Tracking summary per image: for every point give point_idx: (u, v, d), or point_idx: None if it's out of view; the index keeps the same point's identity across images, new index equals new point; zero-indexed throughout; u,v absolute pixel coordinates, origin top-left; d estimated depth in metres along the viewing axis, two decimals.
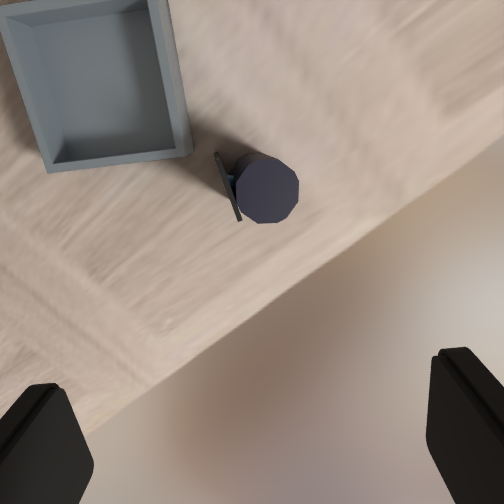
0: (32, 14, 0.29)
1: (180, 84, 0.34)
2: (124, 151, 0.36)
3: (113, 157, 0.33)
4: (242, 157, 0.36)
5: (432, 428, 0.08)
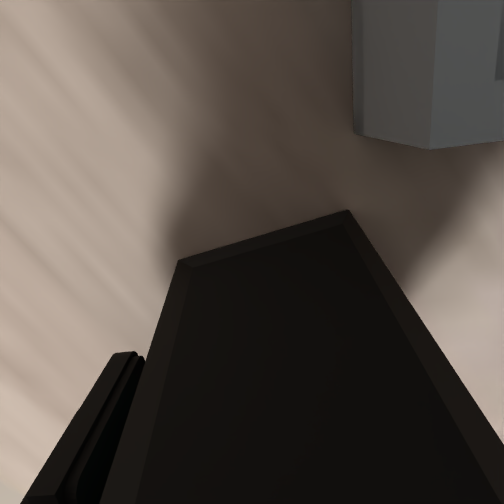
0: None
1: None
2: None
3: None
4: None
5: None
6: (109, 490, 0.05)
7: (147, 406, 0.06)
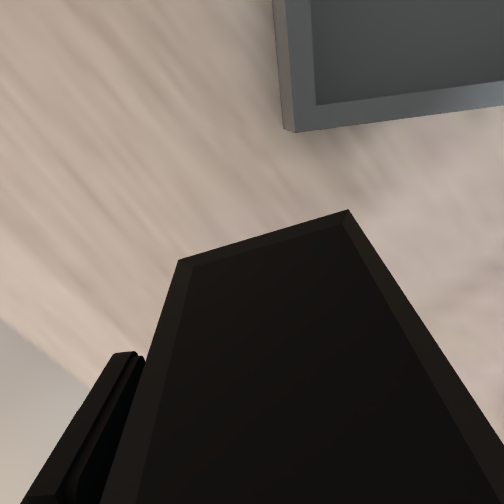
0: None
1: None
2: None
3: None
4: None
5: None
6: (110, 488, 0.05)
7: (147, 405, 0.06)
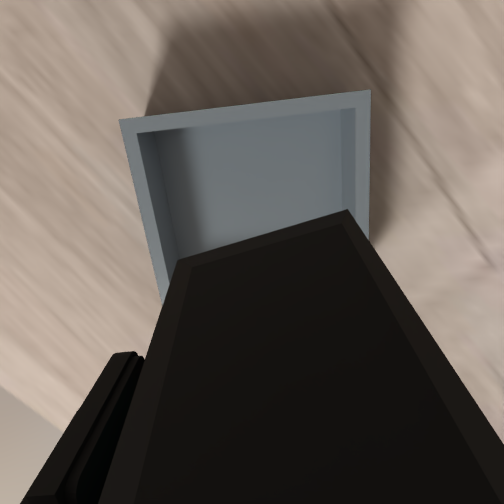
0: (353, 147, 0.20)
1: None
2: (173, 216, 0.25)
3: (157, 234, 0.21)
4: None
5: None
6: (108, 489, 0.05)
7: (146, 405, 0.06)
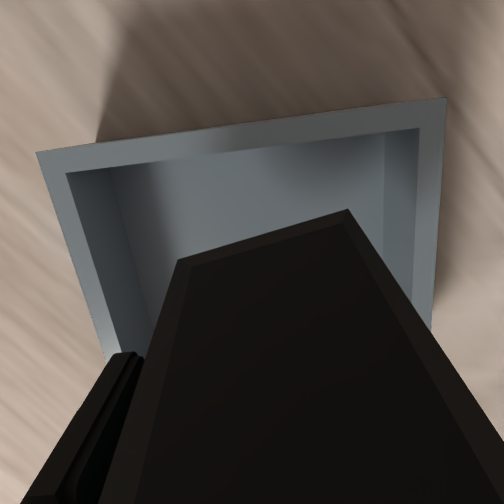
0: (411, 189, 0.12)
1: None
2: (141, 278, 0.17)
3: (109, 319, 0.14)
4: None
5: None
6: (108, 489, 0.05)
7: (146, 405, 0.06)
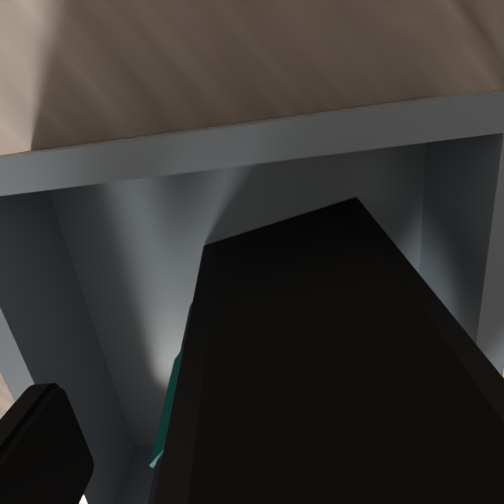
0: (479, 224, 0.08)
1: None
2: (98, 328, 0.13)
3: None
4: None
5: None
6: (174, 417, 0.06)
7: (195, 359, 0.07)
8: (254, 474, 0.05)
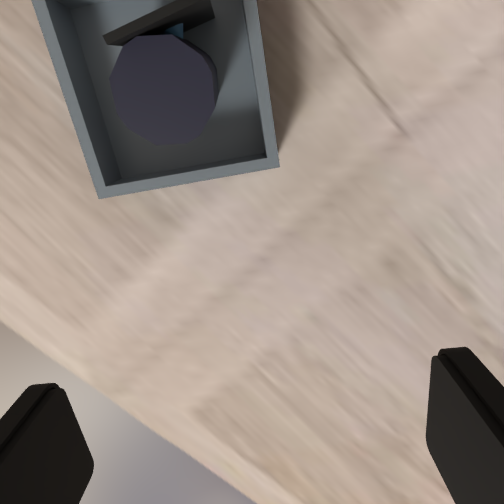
0: None
1: None
2: (98, 97, 0.27)
3: (75, 98, 0.23)
4: (211, 59, 0.25)
5: (433, 428, 0.08)
6: None
7: None
8: None
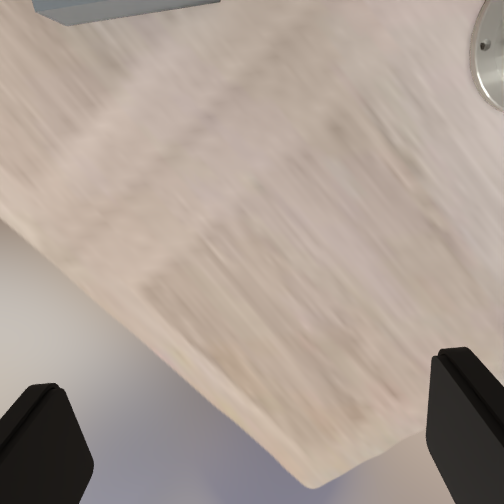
0: None
1: (133, 11, 0.29)
2: None
3: None
4: None
5: (432, 428, 0.08)
6: None
7: None
8: None
